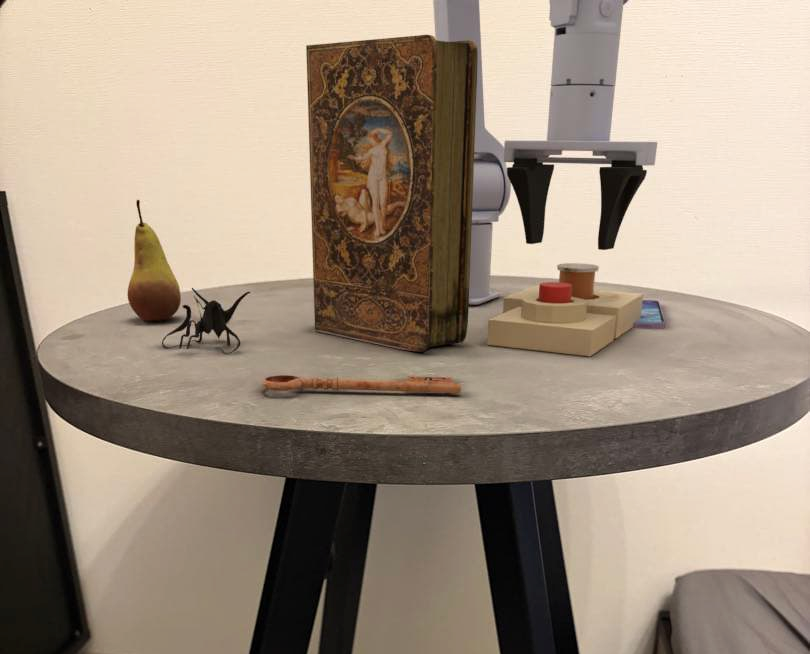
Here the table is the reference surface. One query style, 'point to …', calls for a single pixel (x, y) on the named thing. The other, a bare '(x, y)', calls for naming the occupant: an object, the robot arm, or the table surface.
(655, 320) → the smartphone
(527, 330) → the panel
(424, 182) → the book
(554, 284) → the button
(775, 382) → the table surface
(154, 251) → the fruit
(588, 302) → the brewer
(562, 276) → the cylinder
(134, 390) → the table surface
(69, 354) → the table surface
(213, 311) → the creature
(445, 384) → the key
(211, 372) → the table surface
